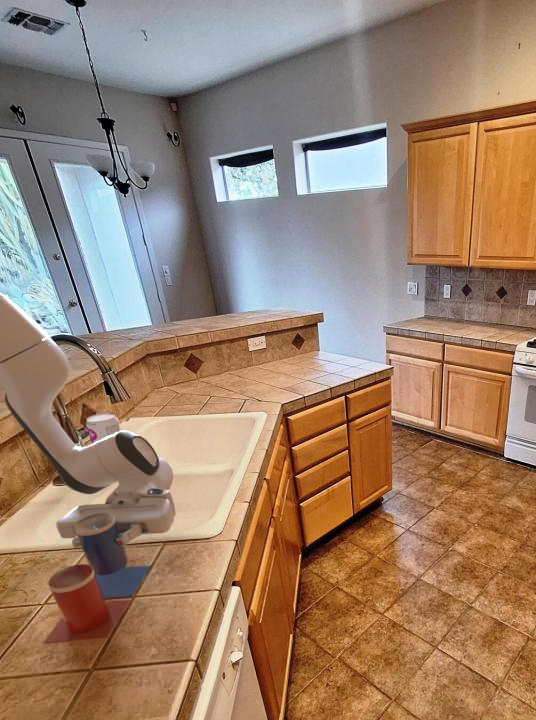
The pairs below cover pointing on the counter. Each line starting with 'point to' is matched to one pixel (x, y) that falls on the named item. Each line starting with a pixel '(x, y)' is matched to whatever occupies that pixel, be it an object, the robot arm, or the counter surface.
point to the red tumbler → (79, 598)
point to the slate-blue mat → (122, 581)
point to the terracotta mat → (102, 631)
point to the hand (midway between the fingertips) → (99, 543)
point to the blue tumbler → (101, 543)
